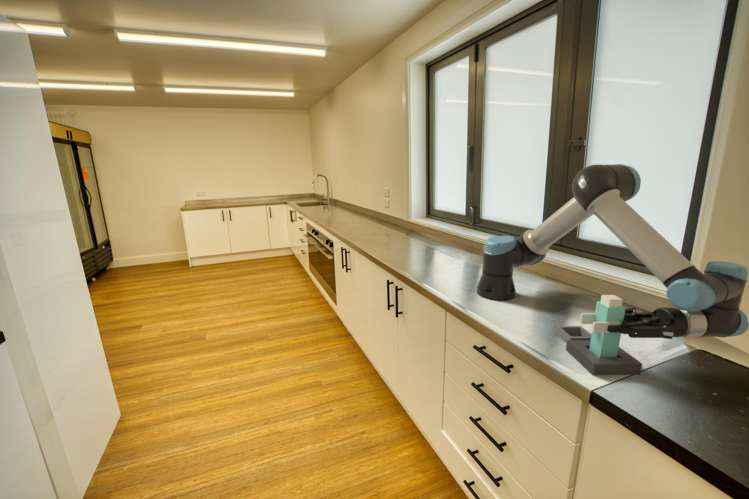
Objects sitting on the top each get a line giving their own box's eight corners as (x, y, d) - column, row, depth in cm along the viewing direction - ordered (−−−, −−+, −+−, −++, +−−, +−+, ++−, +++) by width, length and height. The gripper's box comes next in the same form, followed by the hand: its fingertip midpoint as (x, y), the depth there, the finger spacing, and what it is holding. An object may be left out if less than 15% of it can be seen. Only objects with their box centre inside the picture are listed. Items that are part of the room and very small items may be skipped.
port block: (565, 349, 97) (567, 340, 96) (607, 349, 97) (609, 340, 96) (592, 374, 85) (594, 364, 84) (640, 374, 85) (642, 363, 84)
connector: (589, 349, 92) (597, 294, 89) (605, 349, 92) (614, 294, 89) (599, 358, 88) (609, 300, 84) (616, 358, 88) (626, 300, 85)
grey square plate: (555, 333, 106) (556, 326, 106) (579, 333, 106) (580, 326, 106) (569, 345, 99) (570, 338, 98) (595, 345, 99) (596, 337, 98)
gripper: (705, 352, 81) (607, 353, 81) (647, 320, 98) (566, 321, 98) (712, 323, 79) (612, 324, 79) (652, 296, 96) (569, 296, 96)
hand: (587, 322), depth 88 cm, fingers closed on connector, 4 cm apart
